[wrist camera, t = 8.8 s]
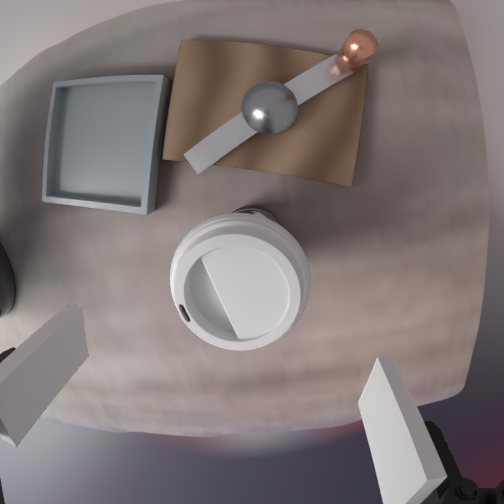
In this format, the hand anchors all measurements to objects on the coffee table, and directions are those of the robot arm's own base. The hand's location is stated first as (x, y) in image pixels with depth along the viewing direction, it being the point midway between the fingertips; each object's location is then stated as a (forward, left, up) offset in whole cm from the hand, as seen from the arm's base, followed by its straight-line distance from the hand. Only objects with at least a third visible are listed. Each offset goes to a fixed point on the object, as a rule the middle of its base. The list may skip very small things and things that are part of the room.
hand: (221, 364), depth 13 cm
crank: (0, +13, -20) cm, 24 cm away
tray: (-18, +8, -22) cm, 30 cm away
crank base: (-1, +13, -22) cm, 26 cm away
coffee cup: (0, 0, -22) cm, 22 cm away
